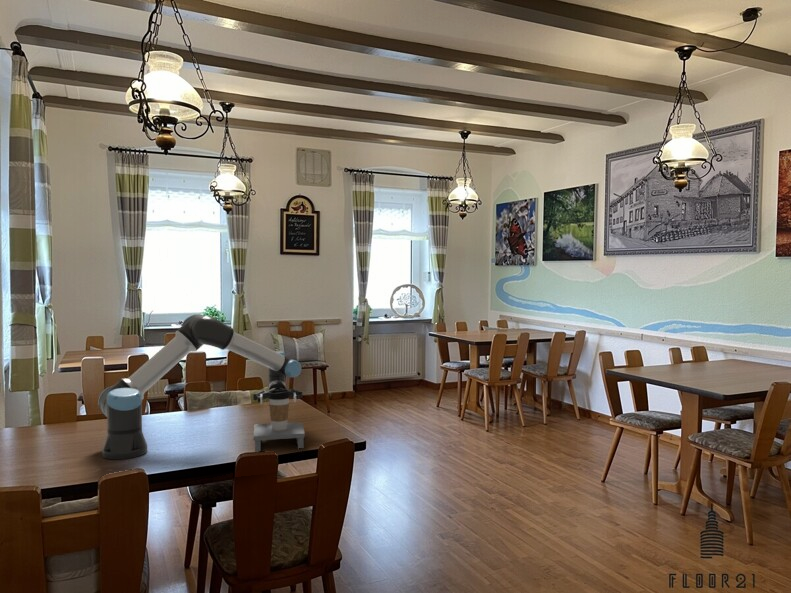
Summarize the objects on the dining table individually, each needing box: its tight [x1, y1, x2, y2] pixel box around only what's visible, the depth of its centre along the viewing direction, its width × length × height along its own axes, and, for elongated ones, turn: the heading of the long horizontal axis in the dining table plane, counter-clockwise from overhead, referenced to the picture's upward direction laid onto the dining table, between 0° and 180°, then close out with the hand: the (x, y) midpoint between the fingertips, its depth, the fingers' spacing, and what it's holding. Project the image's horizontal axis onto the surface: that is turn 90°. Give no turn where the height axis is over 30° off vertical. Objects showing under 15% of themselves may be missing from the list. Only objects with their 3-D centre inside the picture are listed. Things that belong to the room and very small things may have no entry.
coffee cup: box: [267, 389, 291, 431], centre depth 227 cm, size 8×8×15 cm
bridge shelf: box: [253, 421, 306, 453], centre depth 227 cm, size 19×18×6 cm
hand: (278, 399), depth 235 cm, fingers open, 13 cm apart
